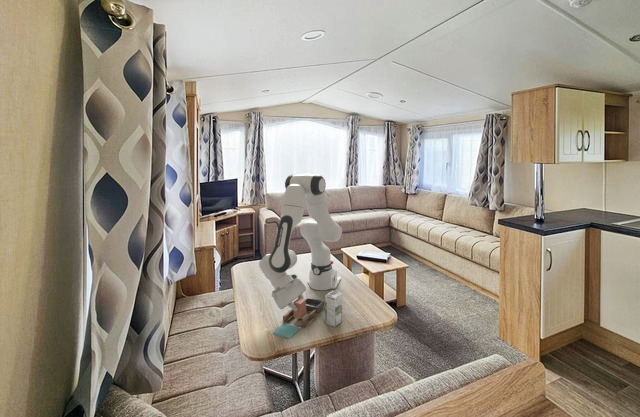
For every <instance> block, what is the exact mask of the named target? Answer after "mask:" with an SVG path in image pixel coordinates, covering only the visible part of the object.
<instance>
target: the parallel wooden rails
mask: <svg viewBox="0 0 640 417" xmlns="http://www.w3.org/2000/svg"><path fill="white" fill-rule="evenodd" d="M293 317H294V310H293V309H292V308H291V309H290V310H288V311H287V312H286V313H285V314H284V315H283V316H282V322H283V323H287V322H288V321H289V320H290V319H292V318H293ZM316 317H317V313H316V310H313V311H312V312H310V313H309V314H307V316H305V318H303V319H302V320H301V328H303V329H304V328H306V327H307V325H308V324H310V322H311V321H313V320H314V319H315V318H316Z"/></svg>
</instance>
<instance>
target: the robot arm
mask: <svg viewBox="0 0 640 417" xmlns="http://www.w3.org/2000/svg"><path fill="white" fill-rule="evenodd" d="M326 185H327V184H326V180H325V178H324V177H323V175H320V174H313V173H300V174H299V173H298V174H297V173H294V174H289V175H288V176H287V177H286V179H285V181H284V187H285V191H284V194H283V198H282V203H281V209H280V210H281V212H280V219H279V225H278V228H277V234H276V240H275V243H274V248H273V250H272V252H271V253H267V254H265V255H264V256H262V258H261V259H260V260H259V262H258V267H259V268H260V271H261V273H262V274H263V275H264V276H265V278H266V279H267V280H268V281H269V283H270V284H271V286H272V287H273V289H274V290H272V292H271V297H272V298H273V300H274V302H275V304H276V305H277V307H278V309H280V310H283V309H285V308H286V307H287V306H288V308H289V309H290V308H291V309H294V311H297V310H298V309H299V308H298V306H295V305H293V302H294V301H295V300H297V299H298V298H302V299H305V298H304V295H303V293H305V292H306V291H307V287H306V285H305V284H304V282H303V281H302V280H301V279H300V278H298V275H297V274H295V273H294V274H287V271H288V270H291V269H292V268H293V267H295V266H296V264H297V261H298V257H297V256H298V255H297V253H296V252H295V251H294V250H292V249H289V248H290V243H291V236H292V233H293V231H294V229H295V227H296V226H297V225H298V224H300V223H301V221H302V220H303V217H304V212H305V203H306V210H307V214H308V216H309V217H310V218H311V219H312V220H306V221H303V222H302V223H301V224H300V228H299V230H300V231H299V232H300V235H301V236H302V237H303V239H305V241H306V242H307V244H308V246H309V248H310V253H311V263H310V270H309V276H308V277H309V279H308V280H307V284H308V286H309V288H311V289H313V290H315V291H327V290H331V289H332V290H333V289H337V287H338V285H339V283H340V281H341V279H342V278H341V276H339V275H338V271H337V269H335V268H334V267H333V264H334V260H331V250H330V248H329V247H328V246H327V245H326V244H325V243H324V242H331V243H332V242H338V241H339V240H340V239H341V237H342V234H343V230H342V229H343V228H342V227H341V225H339V224H338V223H337V222H336V221H335V220H334V219H333V218H332V216H331V215H330V213H329V209H328V205H327V198H326V192H325V191H326Z"/></svg>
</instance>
